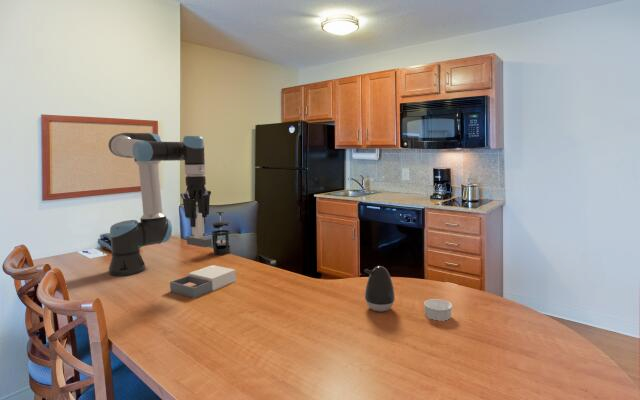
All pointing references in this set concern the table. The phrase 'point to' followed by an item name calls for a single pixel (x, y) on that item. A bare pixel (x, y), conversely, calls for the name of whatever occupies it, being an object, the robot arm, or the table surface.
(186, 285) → the tile
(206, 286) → the box
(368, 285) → the pump dispenser
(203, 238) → the scraper
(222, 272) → the plate
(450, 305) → the ramekin
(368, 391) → the table surface
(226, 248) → the french press
